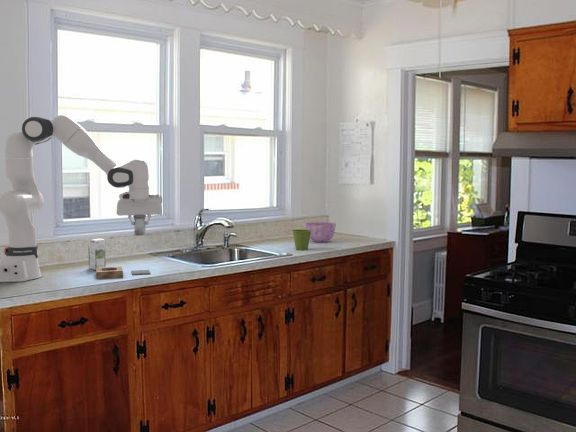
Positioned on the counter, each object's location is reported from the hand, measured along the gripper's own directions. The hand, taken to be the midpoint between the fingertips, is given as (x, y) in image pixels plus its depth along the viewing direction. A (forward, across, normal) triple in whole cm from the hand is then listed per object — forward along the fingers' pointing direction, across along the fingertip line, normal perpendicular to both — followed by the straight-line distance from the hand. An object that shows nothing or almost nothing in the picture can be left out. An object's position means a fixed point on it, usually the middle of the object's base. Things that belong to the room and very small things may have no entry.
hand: (139, 224), depth 269 cm
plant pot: (+23, -96, -46) cm, 109 cm away
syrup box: (+23, +19, -18) cm, 35 cm away
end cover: (+5, 0, 0) cm, 5 cm away
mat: (+22, 0, 0) cm, 22 cm away
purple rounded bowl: (+23, -119, -74) cm, 142 cm away
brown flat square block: (+22, +14, +2) cm, 27 cm away
